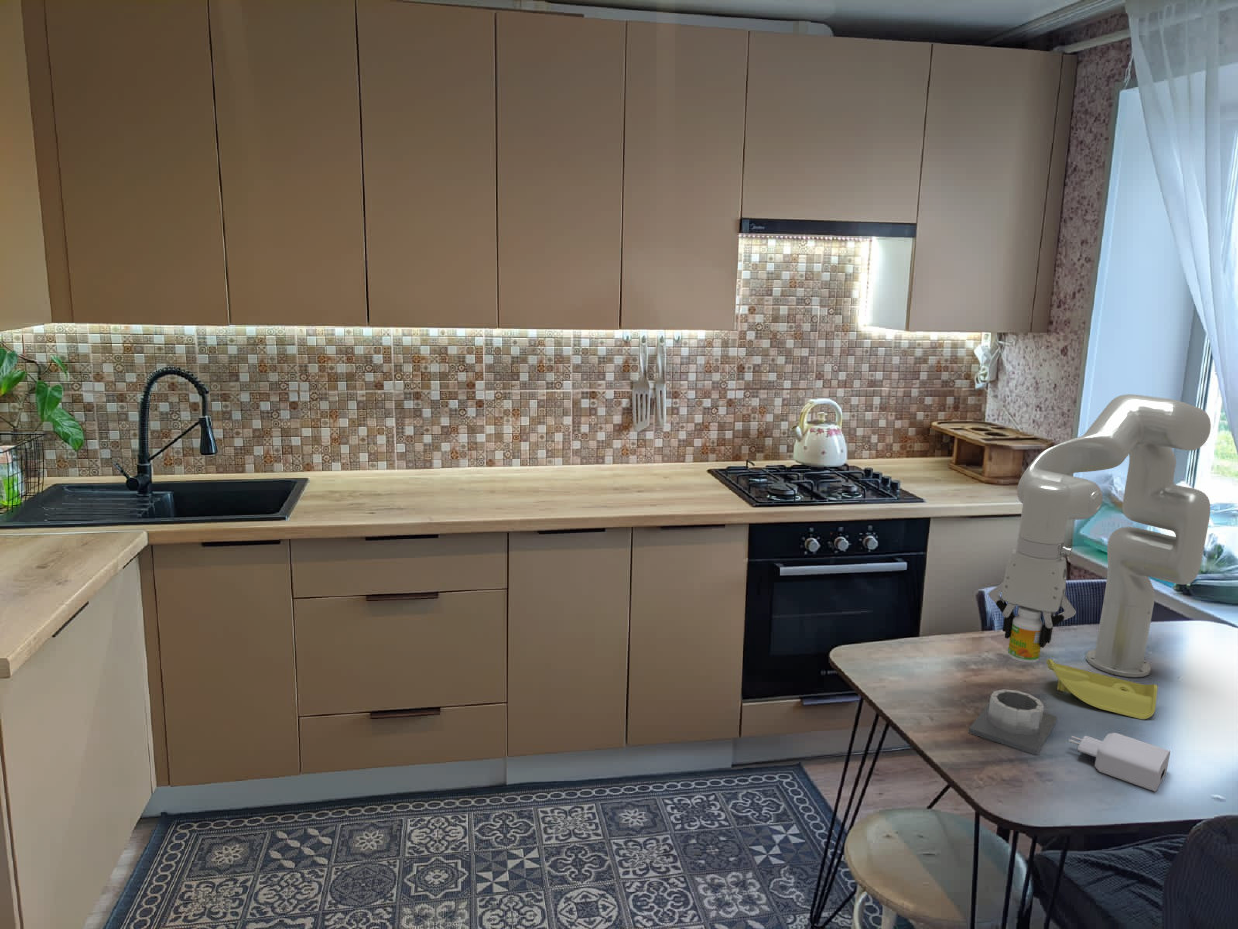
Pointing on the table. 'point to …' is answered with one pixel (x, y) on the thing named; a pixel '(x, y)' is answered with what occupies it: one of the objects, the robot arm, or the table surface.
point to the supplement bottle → (1025, 635)
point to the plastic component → (1107, 691)
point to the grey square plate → (1014, 721)
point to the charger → (1127, 759)
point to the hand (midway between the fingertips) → (1025, 639)
